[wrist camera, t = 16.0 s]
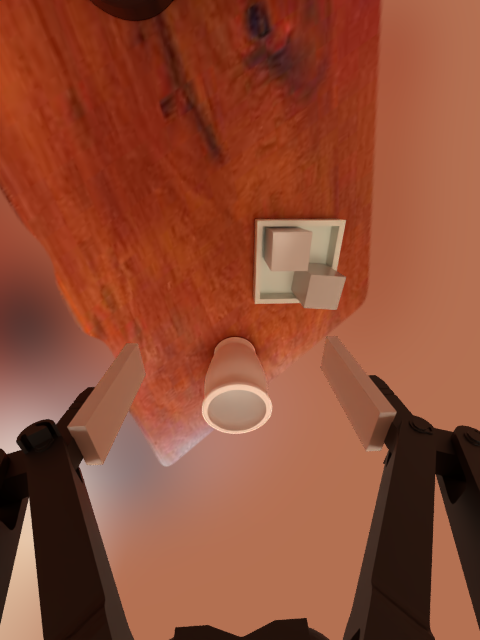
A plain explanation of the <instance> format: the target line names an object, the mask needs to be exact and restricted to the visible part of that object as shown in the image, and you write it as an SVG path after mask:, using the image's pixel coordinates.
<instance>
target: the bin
mask: <svg viewBox="0 0 480 640" xmlns="http://www.w3.org/2000/svg"><path fill="white" fill-rule="evenodd" d="M345 222H346V220H342V219H255V239H254V279H253V298H254V302H255V304H271V303H300V302H299V300H298V299H297V298H296V296H295V295H294V293H293V292H292V290H291V287H292V282H293V276H294V271H271V270H270V269H269V267H268V265H267V264H266V262H265V260H264V259H263V258H264V234H265V226H297V227H300V228H303V229H305V230H308V231H311V232H313V233H312V241H311V248H310V256H309V262H310V263H324V264H326V265H328V266H330V267H331V268H333V269H334V270H336V271H337V265H338V260H339V255H340V249H341V244H342V238H343V233H344V228H345Z"/></svg>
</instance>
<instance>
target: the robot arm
mask: <svg viewBox="0 0 480 640" xmlns="http://www.w3.org/2000/svg"><path fill="white" fill-rule="evenodd" d="M91 1H92V2H93V3H94V4H96V5H97V6H98V7H99V8H101V9H102V10H104V11H106V12H107V13H109V14H111V15H113V16H116V17H119V18H122V19H127V20H143V19H147V18H150V17H153V16H155V15H157V14H158V13H160V12H161V11H163V10H164V9H165V8H166V7H167V6H168V5H169V4H170V3H171V2H172V1H173V0H91ZM321 369H322V371H323V373H324V375H325V377H326V378H327V380H328V382H329V384H330V386H331V388H332V389H333V391H334V393H335V395H336V397H337V399H338V400H339V402H340V404H341V406H342V408H343V410H344V411H345V413H346V415H347V417H348V419H349V421H350V422H351V424H352V426H353V428H354V430H355V432H356V433H357V435H358V437H359V439H360V441H361V443H362V444H363V446H364V448H365V450H366V451H377V450H378V451H379V450H381V449H382V447H383V444H384V443H385V444H386V446H387V448H388V449H389V451H388V453H387V456H386V458H385V460H384V462H383V463H384V464H385V466H384V471H383V475H382V479H381V484H380V488H379V492H378V497H377V501H376V506H375V510H374V514H373V519H372V523H371V528H370V532H369V537H368V541H367V546H366V550H365V554H364V558H363V563H362V567H361V572H360V577H359V581H358V585H357V589H356V594H355V598H354V602H353V607H352V611H351V614H350V617H349V620H348V623H347V626H346V630H345V633H344V637H343V640H435V638H434V636H433V634H432V633H431V630H430V596H431V594H430V593H431V568H432V543H433V517H434V516H433V515H434V491H435V474H436V476H437V480H438V483H439V487H440V490H441V494H442V497H443V501H444V504H445V508H446V512H447V515H448V519H449V522H450V526H451V530H452V533H453V537H454V540H455V544H456V548H457V551H458V555H459V558H460V562H461V565H462V569H463V572H464V576H465V580H466V583H467V587H468V590H469V594H470V597H471V600H472V604H473V608H474V612H475V615H476V619H477V622H478V625H479V629H480V431H478V430H477V429H474V428H471V427H469V426H458V427H456V429H455V430H454V432H450V431H446V430H441V429H436V428H434V427H433V426H432V425H431V424H430V423H429V422H427V421H426V420H424V419H422V418H420V417H417V416H414V415H412V414H411V412H410V411H409V410H408V409H407V408H406V407H405V405H404V404H403V403H402V402H401V401H400V399H399V398H398V397H397V396H396V395H394V392H393V391H392V390H391V389H390V388H389V387H388V385H387V384H386V383H385V382H384V381H383V380H381V379H380V378H379V377H377V376H376V375H370V376H368V375H367V374H366V372H365V371H364V370H363V369H362V367H361V366H360V365H359V364H358V362H357V361H356V360H355V358H354V357H353V356H352V355H351V354H350V352H349V351H348V350H347V348H346V347H345V346H344V345H343V344H342V342H341V341H340V339H339V338H338V337H337V336H327V337H326V340H325V346H324V352H323V357H322V363H321ZM145 375H146V373H145V369H144V366H143V362H142V358H141V354H140V350H139V346H138V343H128V344H126V345H125V346H124V348H123V349H122V351H121V352H120V353H119V355H118V356H117V358H116V359H115V360H114V362H113V363H112V365H111V366H110V367H109V369H108V370H107V372H106V373H105V374H104V376H103V377H102V379H101V380H100V381H99V383H98V384H97V386H96V387H88V388H87V389H86V390H84V391H83V392H82V393H80V394H79V396H78V397H77V398H76V400H75V401H74V403H72V405H71V406H70V407H69V410H67V411H66V413H65V414H64V415H63V416H62V418H61V419H60V420H59V422H58V423H57V424H55V423H54V421H53V420H49V419H46V420H41V421H38V422H35V423H33V424H32V425H30V426H28V427H27V428H25V429H24V430H23V431H22V432H21V433H20V434H19V436H18V437H17V440H16V442H17V444H18V445H19V447H20V448H21V450H19V451H16V452H13V453H10V454H6V453H5V452H4V451H3V450H2V449H0V623H1V619H2V614H3V610H4V605H5V601H6V596H7V592H8V587H9V583H10V579H11V574H12V570H13V565H14V560H15V556H16V552H17V547H18V543H19V539H20V534H21V529H22V525H23V521H24V516H25V511H26V507H27V503H28V499H30V510H31V518H32V529H33V539H34V549H35V558H36V569H37V578H38V588H39V597H40V607H41V617H42V627H43V637H44V640H134V638H133V636H132V634H131V631H130V629H129V626H128V623H127V620H126V617H125V614H124V610H123V608H122V604H121V601H120V597H119V594H118V591H117V587H116V584H115V581H114V578H113V574H112V571H111V568H110V564H109V561H108V558H107V555H106V551H105V548H104V545H103V542H102V538H101V535H100V532H99V529H98V525H97V522H96V519H95V515H94V512H93V509H92V506H91V502H90V499H89V496H88V492H87V489H86V486H85V483H84V479H83V476H82V473H81V470H80V468H79V464H80V463H81V461H82V459H83V458H84V460H85V462H86V464H87V465H101V464H103V463H104V461H105V459H106V457H107V455H108V453H109V451H110V449H111V446H112V444H113V442H114V440H115V438H116V436H117V434H118V432H119V430H120V428H121V425H122V423H123V421H124V419H125V417H126V415H127V413H128V411H129V409H130V407H131V404H132V402H133V400H134V398H135V396H136V394H137V392H138V390H139V388H140V386H141V383H142V381H143V379H144V377H145ZM170 640H329V639H328V638H327V637H325V636H324V635H323V634H321V633H319V632H317V631H316V630H314V629H311V628H309V627H308V623H307V618H301V619H287V620H275V621H273V622H271V623H269V624H267V625H265V626H263V627H262V628H259V629H257V630H256V631H254V632H252V633H250V634H248V635H246V636H244V637H239V636H236V635H233V634H230V633H228V632H225V631H222V630H220V629H217V628H214V627H211V626H209V625H205V626H204V625H203V626H189V627H176V628H175V635H174V637H173V638H172V639H170Z"/></svg>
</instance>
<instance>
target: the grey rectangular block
mask: <svg viewBox="0 0 480 640" xmlns="http://www.w3.org/2000/svg"><path fill="white" fill-rule="evenodd" d="M345 279H346V277H345V276H344V275H342V274H340V273H339V272H337V271H336V270H334V269H333V268H331V267H330V266H328V265H326V264H324V263H310V262H309V264H308V271H294V276H293V282H292V287H291V290H292V292H293V293H294V295H295V296H296V298H297V299H298V300H299V302H300V303H301V305H302V306H303V307H304V308H315V309H332V310H337V307H338V303H339V300H340V296H341V293H342V289H343V286H344V282H345Z"/></svg>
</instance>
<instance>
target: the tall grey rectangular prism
mask: <svg viewBox="0 0 480 640" xmlns="http://www.w3.org/2000/svg"><path fill="white" fill-rule="evenodd" d="M312 233H313V232H311V231H308V230H305V229H303V228H300V227H297V226H265V234H264V258H263V259H264V260H265V262H266V264H267V265H268V267H269V269H270V270H271V271H308V264H309V256H310V248H311V241H312Z"/></svg>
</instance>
